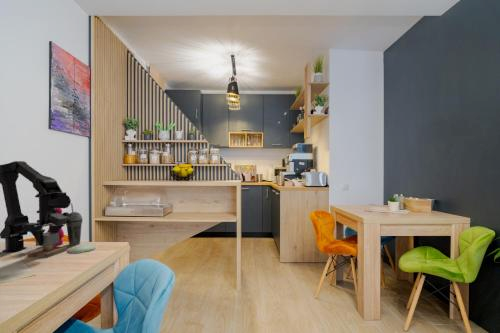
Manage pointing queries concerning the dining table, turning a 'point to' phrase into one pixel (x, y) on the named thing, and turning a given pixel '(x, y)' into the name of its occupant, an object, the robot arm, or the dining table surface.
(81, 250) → the mat
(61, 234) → the pepper mill
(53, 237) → the gray square block
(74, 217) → the beverage cup
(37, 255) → the post block
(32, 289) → the dining table surface
